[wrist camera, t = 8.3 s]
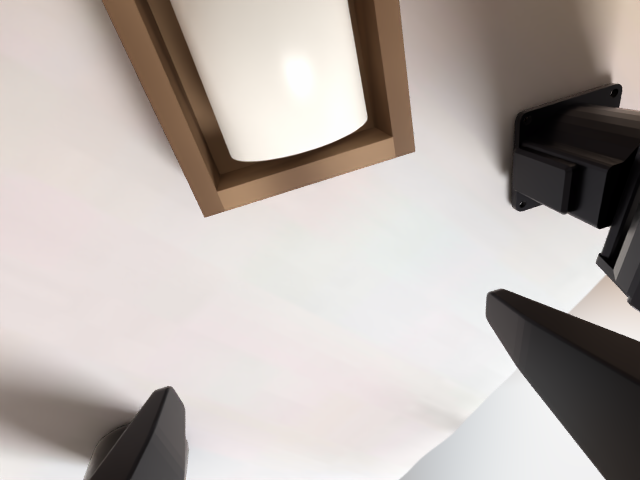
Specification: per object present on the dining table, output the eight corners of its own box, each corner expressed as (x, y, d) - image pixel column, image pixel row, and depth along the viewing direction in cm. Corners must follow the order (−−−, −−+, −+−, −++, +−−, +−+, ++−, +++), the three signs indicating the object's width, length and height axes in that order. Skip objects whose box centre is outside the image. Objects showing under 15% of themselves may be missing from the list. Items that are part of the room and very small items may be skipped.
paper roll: (140, -110, 13) (64, -222, 8) (296, -154, 13) (328, -290, 8) (235, 144, 18) (229, 183, 12) (348, 110, 18) (389, 134, 13)
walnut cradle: (336, -244, 12) (363, -329, 10) (390, 137, 20) (415, 151, 17) (46, -172, 12) (-12, -240, 9) (210, 193, 19) (204, 217, 16)
